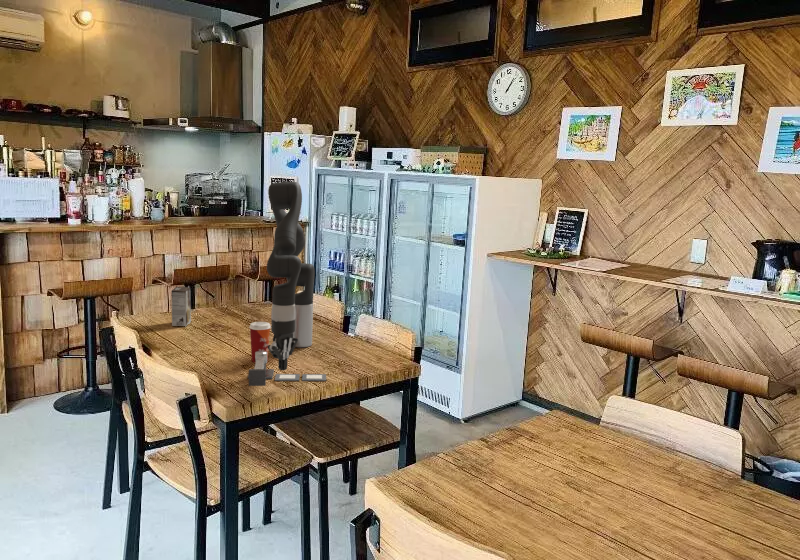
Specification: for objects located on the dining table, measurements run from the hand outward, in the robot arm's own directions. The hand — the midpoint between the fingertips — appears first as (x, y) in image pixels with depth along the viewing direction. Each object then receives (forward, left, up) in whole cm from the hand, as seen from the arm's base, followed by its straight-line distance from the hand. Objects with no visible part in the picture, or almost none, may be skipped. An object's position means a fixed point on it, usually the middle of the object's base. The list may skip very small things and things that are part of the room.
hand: (282, 369), depth 196 cm
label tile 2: (-9, +10, -6) cm, 15 cm away
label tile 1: (-9, +1, -6) cm, 11 cm away
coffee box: (-80, -49, -6) cm, 94 cm away
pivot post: (-12, -8, -6) cm, 15 cm away
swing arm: (-3, -8, -2) cm, 8 cm away
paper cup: (-28, -10, -6) cm, 30 cm away
